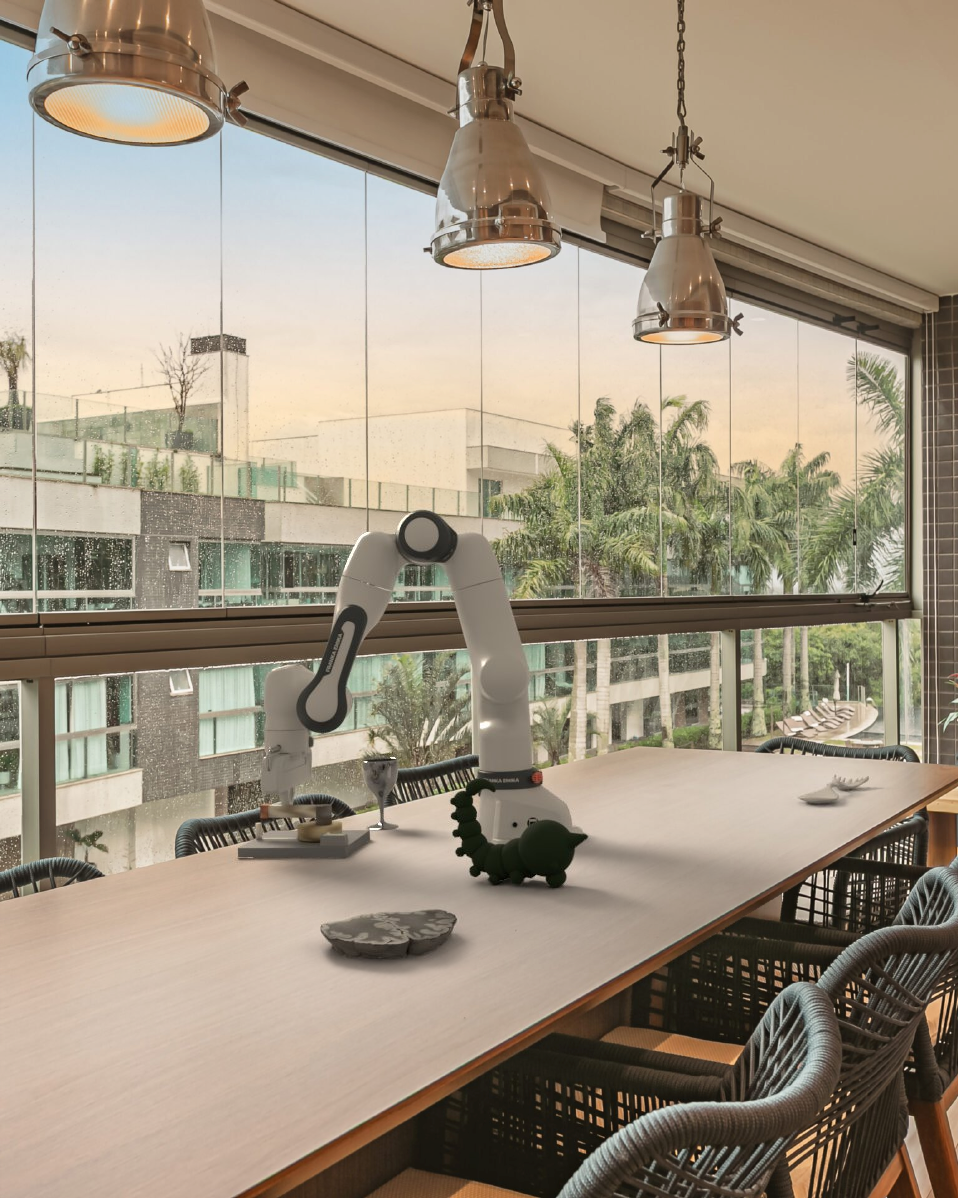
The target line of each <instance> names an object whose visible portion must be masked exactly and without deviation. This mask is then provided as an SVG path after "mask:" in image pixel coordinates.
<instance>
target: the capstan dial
mask: <svg viewBox="0 0 958 1198" xmlns="http://www.w3.org/2000/svg"><path fill="white" fill-rule="evenodd" d="M259 810H260V814H259V815H260V819H269V818H271V819H272V818H278V819H279V818H281V819H284V818H285V819H286V818H287V819H315V820H311V821H305V822H301V823H299V824H297V826H296V830H297V833H298V840H301V841H308V842H317V841H320V836H321V835H323V834H326V833H327V832H329V833H330V834H342V830H343V822H342V821H340V820H333V812H332V804H331V803H330V804H328V803H325V804H322V803H321V804H293V805H281V804H276V803H275V804H273V803H263V804H260V805H259Z"/></svg>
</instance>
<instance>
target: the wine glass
mask: <svg viewBox="0 0 958 1198" xmlns="http://www.w3.org/2000/svg"><path fill="white" fill-rule="evenodd" d="M361 764H362V765H361V767H362V775H363V780H364V783H365V786H366V787H367V788H368V790H369V791H370V792H371V793H372V794H373V796H374V797H375V798H376V800H377V802H378V807H379V815H380V817H379V818H380V819H379V820H380V821H379V822H377V823H375V824H371V825H368V826H369V827H368V826H367V827H368V828H369V829H368V830H370V831H387V830H388V831H389V830H394V829H396V828H399V825H398V824H394V823H389V822H387V821H385V819H384V817H385V816H384V814H385V813H384V812H385V811H384V810H385V803H386V802H385V801H386V799H387V797H388V795H389V794H390V793H391V791H392V790H393V789H394V787H395V785H396V784H397V780H398V775H399V773H398V772H399V759H398V757H391V756H384V757H383V756H379V757H370V758H364V759H362V760H361Z"/></svg>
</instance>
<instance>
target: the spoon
mask: <svg viewBox="0 0 958 1198" xmlns="http://www.w3.org/2000/svg"><path fill="white" fill-rule="evenodd" d="M869 780H870V776H866V777H865V778H863V777H861V778H860V779H859V777H858V778H856V779H855V780H854V781H853V778H850V779H848V780H847V781H846V777H843V779H842V776H839V777H838V778H837V774H834V775H833V777H832V780H831V781H832V782H827V783H826V784H825V787H824V788H821V789H818V790H816V791H813V792H809V793H805V794H803V795H799V796H796V798H797V799H799V800H800V801H803V802H806V803H808V804H813V805H825V804H826V805H827V804H831V803H833V802H834V801H837V800H838V799H839V798H840V795H838V793H836V792H835V790H833V788H836V789H839V790H844V791H846V790H847V791H848V790H853V789H856V788H858V787H860V786H862V785H863V784H866V783H868V781H869Z"/></svg>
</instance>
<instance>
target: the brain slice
mask: <svg viewBox="0 0 958 1198" xmlns="http://www.w3.org/2000/svg"><path fill="white" fill-rule="evenodd" d="M457 921H458V918H457V917H456V914H453V913H452V912H447V911H446V910H442V909H425V910H424V909H421V910H415V911H380V912H376V913H374V912H373V913H368V914H367V913H366V914H359V915H357V916H353V917H349V918H347V919H343V920H336V921H332V922H331V921H329V922H326V923H323V924H320V932H321V934H322V936H323V937H324V938H325V939H326V940H327V942H328V943H330V944H331V945H332V946H333V948H334V949H335V950H336V952H337V953H338V954H339V955H340V956H346V957H348V958H365V959H366V958H368V959H369V958H370V959H385V960H390V959H391V960H392V959H393V960H394V959H397V958H399V959H400V958H404V957H406V956H407V955H408V956H422V955H427V954H428V953H431V952H434V951H435V950H437V949H438V947H441V946H443V945H444V944H445V942H446V941H447V940H448V938H449V937H450V935H452V932H453V930H454V928H455V927H454V926H455V925H456V924H457Z"/></svg>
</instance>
